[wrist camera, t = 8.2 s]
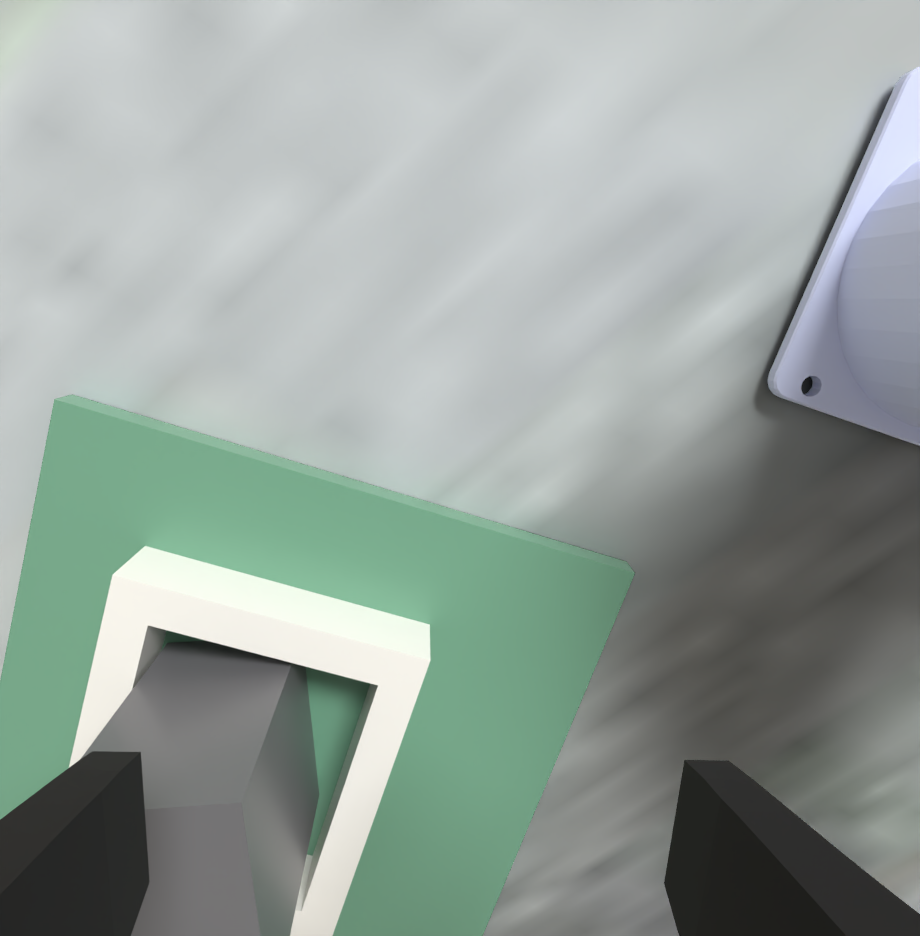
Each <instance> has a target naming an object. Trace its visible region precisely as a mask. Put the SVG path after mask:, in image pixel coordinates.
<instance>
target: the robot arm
mask: <svg viewBox="0 0 920 936" xmlns="http://www.w3.org/2000/svg"><path fill="white" fill-rule="evenodd" d="M809 376H810V377H811V379H812V381H813V384H812V388H811V389H810V390H809V392H807V393H805V394H803V393H802V390H801V386H802V382H803V381H804V380H805V378H807V377H809ZM768 386H769V389H770V390H771V392H772V393H773V394H774V395H776V396H778V397H780V398H783V399H786V400H789V401H792V402H794V403H797V404H800V405H803V406H806V407H809V408H812V409H815V410H817V411H820V412H823V413H826V414H829V415H832V416H835V417H838V418H840V419H843V420H846V421H849V422H852V423H855V424H858V425H861V426H863V427H866V428H869V429H872V430H875V431H878V432H881V433H884V434H886V435H889V436H892V437H895V438H898V439H901V440H904V441H907V442H909V443H912V444H915V445H918V446H920V67H917V68H915V69H913V70H911V71H909V72H907V73H906V74H904V75H903V76H902V77H900V79H899V80H898V82H897V83H896V85H895V87H894V89H893V91H892V94H891V96H890V98H889V100H888V103H887V105H886V107H885V110H884V112H883V114H882V116H881V119H880V121H879V123H878V126H877V128H876V130H875V132H874V135H873V137H872V139H871V141H870V144H869V146H868V148H867V151H866V153H865V155H864V157H863V160H862V162H861V164H860V167H859V169H858V171H857V173H856V176H855V178H854V180H853V183H852V185H851V187H850V189H849V192H848V194H847V196H846V199H845V201H844V203H843V205H842V208H841V210H840V212H839V215H838V217H837V219H836V221H835V224H834V226H833V228H832V231H831V233H830V235H829V237H828V240H827V242H826V244H825V247H824V249H823V251H822V253H821V256H820V258H819V260H818V263H817V265H816V267H815V269H814V272H813V274H812V276H811V279H810V281H809V283H808V285H807V288H806V290H805V292H804V294H803V297H802V299H801V301H800V304H799V306H798V308H797V310H796V313H795V315H794V317H793V320H792V322H791V324H790V326H789V329H788V331H787V333H786V336H785V338H784V340H783V342H782V345H781V347H780V349H779V352H778V354H777V356H776V358H775V361H774V363H773V365H772V368H771V370H770V372H769V376H768ZM149 882H150V880H149V865H148V851H147V836H146V821H145V806H144V791H143V776H142V761H141V752H110V751H92V752H90V753H89V754H88V755H86V756H85V757H83V758H82V759H80V760H79V761H78V762H76V763H75V764H73V765H72V766H71V767H69V768H68V769H67V770H65V771H64V772H63V773H61V774H60V775H59V776H57V777H56V778H55V779H53V780H52V781H51V782H49V783H48V784H47V785H45V786H44V787H43V788H41V789H40V790H39V791H37V792H36V793H35V794H33V795H32V796H31V797H29V798H28V799H27V800H25V801H24V802H23V803H21V804H20V805H19V806H17V807H16V808H15V809H14V810H12V811H11V812H10V813H8V814H7V815H6V816H4V817H3V818H2V819H0V936H131V934H132V931H133V928H134V925H135V923H136V920H137V917H138V914H139V911H140V908H141V905H142V902H143V900H144V897H145V894H146V891H147V888H148V885H149ZM664 884H665V888H666V891H667V895H668V898H669V902H670V905H671V909H672V912H673V916H674V919H675V923H676V926H677V930H678V933H679V936H920V914H919V913H917V912H916V911H915V910H914V909H912V908H911V907H910V906H908V905H907V904H906V903H905V902H903V901H902V900H901V899H899V898H898V897H897V896H895V895H894V894H893V893H892V892H890V891H889V890H888V889H887V888H885V887H884V886H883V885H882V884H880V883H879V882H878V881H876V880H875V879H874V878H873V877H871V876H870V875H869V874H868V873H866V872H865V871H864V870H863V869H861V868H860V867H859V866H858V865H857V864H855V863H854V862H853V861H852V860H850V859H849V858H848V857H847V856H845V855H844V854H843V853H842V852H840V851H839V850H838V849H837V848H836V847H834V846H833V845H832V844H831V843H829V842H828V841H827V840H826V839H824V838H823V837H822V836H821V835H820V834H818V833H817V832H816V831H815V830H814V829H812V828H811V827H810V826H809V825H808V824H806V823H805V822H804V821H803V820H801V819H800V818H799V817H798V816H797V815H795V814H794V813H793V812H792V811H791V810H789V809H788V808H787V807H786V806H784V805H783V804H782V803H781V802H780V801H778V800H777V799H776V798H775V797H774V796H772V795H771V794H770V793H769V792H767V791H766V790H765V789H764V788H763V787H761V786H760V785H759V784H758V783H756V782H755V781H754V780H753V779H751V778H750V777H749V776H748V775H746V774H745V773H744V772H742V771H741V770H740V769H738V768H737V767H736V766H734V765H733V764H732V763H730V762H729V761H708V760H685V761H684V767H683V773H682V779H681V785H680V791H679V797H678V803H677V809H676V815H675V821H674V827H673V833H672V839H671V845H670V851H669V857H668V863H667V869H666V876H665V882H664Z"/></svg>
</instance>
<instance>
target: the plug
mask: <svg viewBox="0 0 920 936" xmlns="http://www.w3.org/2000/svg"><path fill="white" fill-rule="evenodd" d="M92 751H110V752H141V761H142V776H143V791H144V806H145V821H146V836H147V851H148V865H149V880H150V882H149V885H148V888H147V891H146V894H145V897H144V900H143V902H142V905H141V908H140V911H139V914H138V917H137V920H136V923H135V925H134V928H133V931H132V934H131V936H290V933H291V928H292V923H293V918H294V914H295V909H296V904H297V899H298V894H299V890H300V885H301V880H302V875H303V871H304V866H305V861H306V856H307V851H308V847H309V842H310V837H311V832H312V828H313V823H314V818H315V813H316V808H317V804H318V799H319V786H318V777H317V768H316V758H315V749H314V740H313V730H312V721H311V712H310V702H309V693H308V684H307V674H306V666H302V665H298V664H294V663H290V662H286V661H283V660H279V659H275V658H271V657H267V656H263V655H260V654H256V653H252V652H248V651H244V650H240V649H237V648H233V647H229V646H225V645H221V644H217V643H214V642H210V641H206V640H205V641H188V642H171V643H167V644H166V645H165V646H164V648H163V649H162V651H161V652H160V653H159V655H158V656H157V657H156V659H155V660H154V661H153V663H152V664H151V665H150V667H149V668H148V669H147V671H146V672H145V673H144V675H143V676H142V677H141V679H140V680H139V681H138V683H137V684H136V685H135V687H134V688H133V689H132V691H131V692H130V693H129V695H128V696H127V697H126V699H125V700H124V701H123V703H122V704H121V705H120V707H119V708H118V709H117V711H116V712H115V713H114V715H113V716H112V717H111V719H110V720H109V721H108V723H107V724H106V725H105V727H104V728H103V730H102V731H101V732H100V734H99V735H98V736H97V738H96V739H95V740H94V742H93V743H92V744H91V746H90V747H89V748H88V750H87V751H86V752H85V754H84V755H83V756H82V758H83V757H85V756H86V755H88V754H89V753H90V752H92ZM82 758H81V759H82Z"/></svg>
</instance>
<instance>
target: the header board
mask: <svg viewBox="0 0 920 936" xmlns="http://www.w3.org/2000/svg"><path fill="white" fill-rule="evenodd" d="M634 575H635V572H634V571H633V570H632V568H631V567H630V566H629V565H628V563H627V562H626V561H623V560H619V559H616V558H613V557H609V556H606V555H603V554H599V553H596V552H593V551H590V550H586V549H583V548H580V547H576V546H573V545H570V544H566V543H563V542H560V541H556V540H553V539H550V538H546V537H543V536H540V535H536V534H533V533H530V532H527V531H523V530H520V529H517V528H513V527H510V526H507V525H503V524H500V523H497V522H493V521H490V520H487V519H483V518H480V517H477V516H473V515H470V514H467V513H463V512H460V511H457V510H454V509H450V508H447V507H444V506H440V505H437V504H434V503H430V502H427V501H424V500H420V499H417V498H414V497H410V496H407V495H404V494H400V493H397V492H394V491H390V490H387V489H384V488H381V487H377V486H374V485H371V484H367V483H364V482H361V481H357V480H354V479H351V478H347V477H344V476H341V475H337V474H334V473H331V472H327V471H324V470H321V469H317V468H314V467H311V466H308V465H304V464H301V463H298V462H294V461H291V460H288V459H284V458H281V457H278V456H274V455H271V454H268V453H264V452H261V451H258V450H254V449H251V448H248V447H244V446H241V445H238V444H235V443H231V442H228V441H225V440H221V439H218V438H215V437H211V436H208V435H205V434H201V433H198V432H195V431H191V430H188V429H185V428H181V427H178V426H175V425H171V424H168V423H165V422H162V421H158V420H155V419H152V418H148V417H145V416H142V415H138V414H135V413H132V412H128V411H125V410H122V409H118V408H115V407H112V406H108V405H105V404H102V403H99V402H95V401H92V400H89V399H85V398H82V397H79V396H75V395H68V396H65V397H61V398H57V399H54V405H53V410H52V415H51V420H50V425H49V431H48V436H47V441H46V446H45V451H44V457H43V462H42V467H41V472H40V477H39V483H38V488H37V493H36V498H35V503H34V509H33V514H32V519H31V524H30V529H29V535H28V540H27V545H26V550H25V555H24V560H23V566H22V571H21V576H20V581H19V586H18V592H17V597H16V602H15V607H14V612H13V618H12V623H11V628H10V633H9V638H8V644H7V649H6V654H5V659H4V664H3V670H2V675H1V680H0V819H2V818H3V817H4V816H6V815H7V814H8V813H10V812H11V811H12V810H14V809H15V808H16V807H17V806H19V805H20V804H21V803H23V802H24V801H25V800H27V799H28V798H29V797H31V796H32V795H33V794H35V793H36V792H37V791H39V790H40V789H41V788H43V787H44V786H45V785H47V784H48V783H49V782H51V781H52V780H53V779H55V778H56V777H57V776H59V775H60V774H61V773H63V772H64V771H65V770H67V769H68V768H69V767H71V766H72V765H73V764H75V763H76V762H78V761H79V760H80V759H81V758H82V756H83V755H84V754H85V752H86V751H87V750H88V748H89V747H90V746H91V744H92V743H93V742H94V740H95V739H96V738H97V736H98V735H99V734H100V732H101V731H102V730H103V728H104V727H105V725H106V724H107V723H108V721H109V720H110V719H111V717H112V716H113V715H114V713H115V712H116V711H117V709H118V708H119V707H120V705H121V704H122V703H123V701H124V700H125V699H126V697H127V696H128V695H129V693H130V692H131V691H132V689H133V688H134V687H135V685H136V684H137V683H138V681H139V680H140V679H141V677H142V676H143V675H144V673H145V672H146V671H147V669H148V668H149V667H150V665H151V664H152V663H153V661H154V660H155V659H156V657H157V656H158V655H159V653H160V652H161V651H162V649H163V648H164V646H165V645H166V644H167V643H171V642H188V641H205V640H206V641H210V642H214V643H217V644H221V645H225V646H229V647H233V648H237V649H240V650H244V651H248V652H252V653H256V654H260V655H263V656H267V657H271V658H275V659H279V660H283V661H286V662H290V663H294V664H298V665H302V666H306V674H307V684H308V693H309V702H310V712H311V721H312V730H313V740H314V749H315V758H316V768H317V777H318V786H319V799H318V804H317V808H316V813H315V818H314V823H313V828H312V832H311V837H310V842H309V847H308V851H307V856H306V861H305V866H304V871H303V875H302V880H301V885H300V890H299V894H298V899H297V904H296V909H295V914H294V918H293V923H292V928H291V933H290V936H483V933H484V931H485V929H486V926H487V924H488V922H489V919H490V917H491V914H492V912H493V910H494V907H495V905H496V903H497V900H498V898H499V895H500V893H501V891H502V888H503V886H504V884H505V881H506V879H507V876H508V874H509V872H510V869H511V867H512V865H513V862H514V860H515V857H516V855H517V853H518V850H519V848H520V846H521V843H522V841H523V838H524V836H525V834H526V831H527V829H528V827H529V824H530V822H531V819H532V817H533V815H534V812H535V810H536V808H537V805H538V803H539V800H540V798H541V796H542V793H543V791H544V788H545V786H546V784H547V781H548V779H549V777H550V774H551V772H552V769H553V767H554V765H555V762H556V760H557V758H558V755H559V753H560V750H561V748H562V746H563V743H564V741H565V739H566V736H567V734H568V731H569V729H570V727H571V724H572V722H573V720H574V717H575V715H576V712H577V710H578V708H579V705H580V703H581V701H582V698H583V696H584V693H585V691H586V689H587V686H588V684H589V682H590V679H591V677H592V674H593V672H594V670H595V667H596V665H597V662H598V660H599V658H600V655H601V653H602V651H603V648H604V646H605V643H606V641H607V639H608V636H609V634H610V632H611V629H612V627H613V624H614V622H615V620H616V617H617V615H618V613H619V610H620V608H621V605H622V603H623V601H624V598H625V596H626V594H627V591H628V589H629V586H630V584H631V582H632V579H633V577H634Z"/></svg>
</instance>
